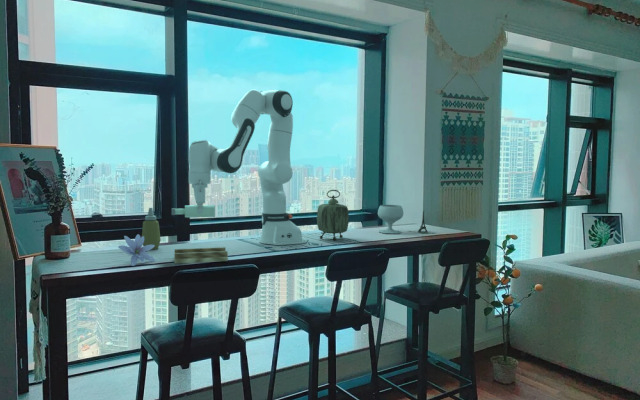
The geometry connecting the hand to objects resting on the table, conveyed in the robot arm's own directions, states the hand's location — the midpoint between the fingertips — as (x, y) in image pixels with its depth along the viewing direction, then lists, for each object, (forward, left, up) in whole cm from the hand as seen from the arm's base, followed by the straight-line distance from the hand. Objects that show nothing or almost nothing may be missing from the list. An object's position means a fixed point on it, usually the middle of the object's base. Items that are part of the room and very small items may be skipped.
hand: (199, 212), depth 202 cm
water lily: (+24, +13, -18) cm, 32 cm away
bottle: (+3, 0, -2) cm, 3 cm away
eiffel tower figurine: (-123, -35, -18) cm, 129 cm away
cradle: (0, +11, -17) cm, 21 cm away
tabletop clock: (-66, -22, -18) cm, 71 cm away
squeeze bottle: (+20, -17, -18) cm, 32 cm away
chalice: (-104, -37, -18) cm, 112 cm away
